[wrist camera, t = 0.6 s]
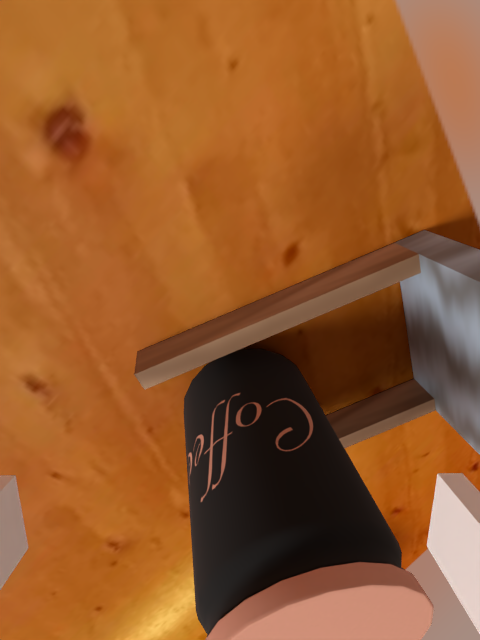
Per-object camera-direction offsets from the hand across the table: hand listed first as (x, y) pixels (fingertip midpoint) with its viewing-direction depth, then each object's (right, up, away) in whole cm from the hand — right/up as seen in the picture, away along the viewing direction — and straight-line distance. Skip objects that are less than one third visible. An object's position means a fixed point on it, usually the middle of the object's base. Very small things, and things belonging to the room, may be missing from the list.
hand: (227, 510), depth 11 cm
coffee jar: (+1, 0, +20) cm, 20 cm away
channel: (+6, +2, +20) cm, 21 cm away
